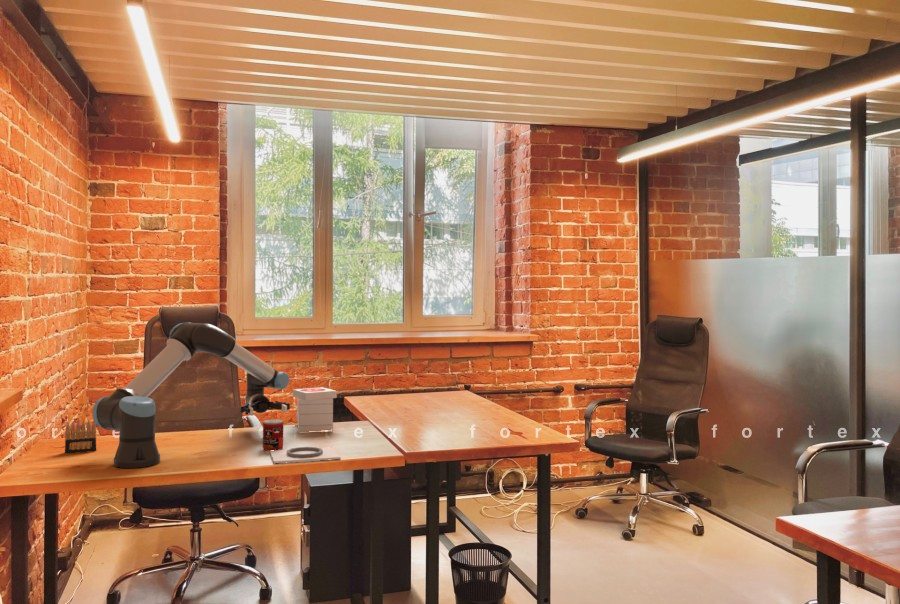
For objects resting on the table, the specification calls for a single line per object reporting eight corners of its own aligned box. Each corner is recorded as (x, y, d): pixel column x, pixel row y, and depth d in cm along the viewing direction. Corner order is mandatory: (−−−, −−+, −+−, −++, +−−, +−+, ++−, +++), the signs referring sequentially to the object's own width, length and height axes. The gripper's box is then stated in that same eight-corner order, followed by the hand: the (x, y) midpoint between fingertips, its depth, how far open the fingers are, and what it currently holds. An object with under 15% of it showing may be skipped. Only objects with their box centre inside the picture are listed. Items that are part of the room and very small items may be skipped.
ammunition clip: (96, 450, 265) (96, 419, 265) (96, 451, 264) (96, 420, 264) (64, 452, 261) (65, 421, 260) (64, 453, 259) (64, 422, 259)
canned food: (259, 450, 268) (259, 422, 268) (269, 445, 276) (269, 418, 276) (276, 451, 267) (277, 423, 267) (286, 447, 274) (286, 419, 274)
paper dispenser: (331, 421, 334) (332, 384, 334) (337, 432, 305) (337, 392, 305) (291, 422, 329) (291, 385, 329) (293, 434, 300) (293, 393, 300)
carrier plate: (274, 464, 246) (274, 458, 246) (270, 453, 263) (270, 447, 263) (340, 459, 254) (340, 453, 254) (332, 449, 271) (332, 443, 271)
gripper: (288, 409, 305) (299, 417, 286) (229, 413, 294) (237, 422, 275) (288, 392, 305) (299, 399, 286) (229, 396, 294) (237, 403, 275)
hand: (269, 410), depth 281 cm, fingers open, 13 cm apart
